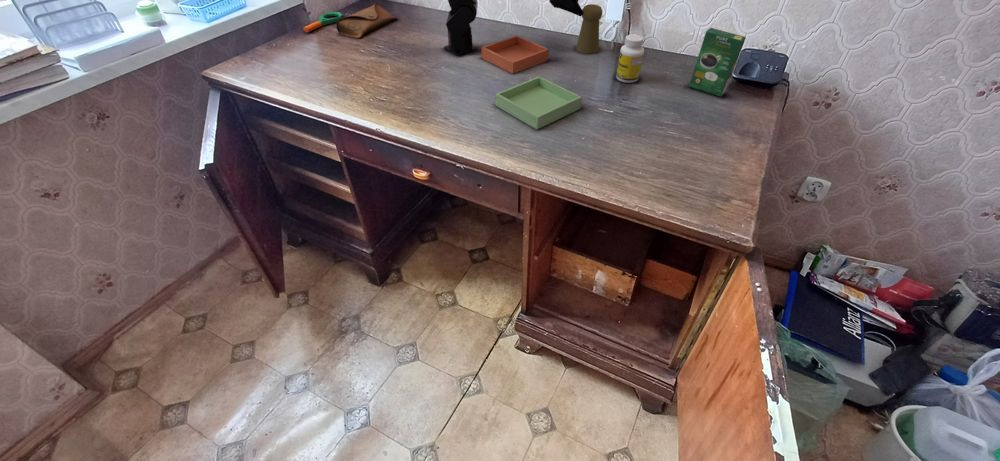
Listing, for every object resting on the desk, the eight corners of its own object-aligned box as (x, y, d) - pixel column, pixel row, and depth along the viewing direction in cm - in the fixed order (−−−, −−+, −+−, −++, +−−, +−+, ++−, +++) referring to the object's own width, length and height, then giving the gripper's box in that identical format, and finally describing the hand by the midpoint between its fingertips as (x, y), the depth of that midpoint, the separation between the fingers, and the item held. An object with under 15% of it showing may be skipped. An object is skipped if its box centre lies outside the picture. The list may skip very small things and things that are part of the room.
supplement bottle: (611, 75, 114) (618, 34, 107) (631, 72, 115) (639, 31, 108) (622, 85, 110) (630, 43, 103) (642, 81, 111) (651, 40, 104)
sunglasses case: (360, 37, 130) (346, 14, 127) (346, 46, 134) (332, 24, 131) (399, 17, 141) (387, -5, 139) (385, 26, 146) (373, 5, 143)
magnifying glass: (330, 14, 144) (329, 9, 143) (347, 17, 143) (345, 11, 142) (298, 32, 134) (296, 25, 133) (315, 34, 133) (314, 28, 131)
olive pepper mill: (572, 50, 124) (577, 7, 117) (580, 43, 128) (585, 0, 120) (594, 55, 122) (600, 11, 114) (601, 47, 126) (608, 4, 118)
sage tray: (495, 105, 103) (495, 93, 101) (538, 87, 109) (539, 76, 107) (537, 129, 95) (537, 117, 94) (580, 108, 102) (582, 96, 100)
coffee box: (726, 93, 107) (747, 35, 98) (722, 98, 105) (742, 39, 96) (692, 83, 110) (709, 26, 101) (687, 87, 109) (704, 30, 100)
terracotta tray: (481, 58, 121) (481, 47, 119) (516, 45, 127) (516, 35, 125) (512, 73, 114) (513, 62, 112) (548, 60, 120) (549, 49, 118)
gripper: (569, -59, 100) (612, -5, 107) (560, -77, 113) (599, -28, 121) (531, -19, 105) (574, 31, 113) (526, -41, 119) (566, 5, 126)
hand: (579, 8), depth 118 cm, fingers open, 9 cm apart
